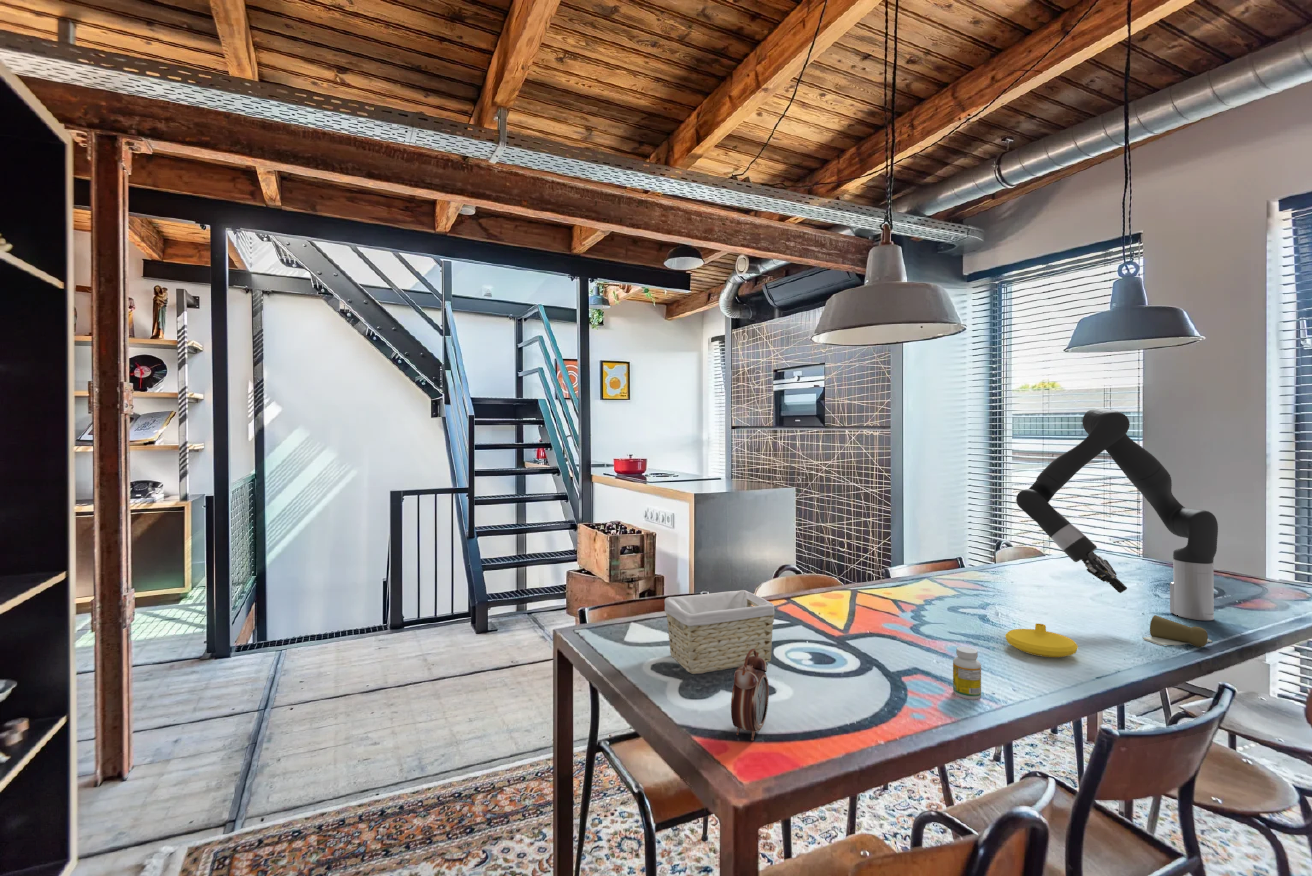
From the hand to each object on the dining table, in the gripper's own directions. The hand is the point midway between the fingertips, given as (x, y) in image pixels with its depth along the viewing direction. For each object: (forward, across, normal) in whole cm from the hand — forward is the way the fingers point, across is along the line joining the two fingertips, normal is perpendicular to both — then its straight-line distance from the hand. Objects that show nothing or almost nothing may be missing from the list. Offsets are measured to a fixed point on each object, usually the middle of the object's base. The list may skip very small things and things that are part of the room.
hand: (1123, 591), depth 170 cm
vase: (+2, -39, +14) cm, 41 cm away
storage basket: (-33, -107, +49) cm, 122 cm away
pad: (+16, 0, 0) cm, 16 cm away
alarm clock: (-12, -128, +28) cm, 132 cm away
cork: (+10, -1, +1) cm, 11 cm away
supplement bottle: (+1, -80, +15) cm, 82 cm away
